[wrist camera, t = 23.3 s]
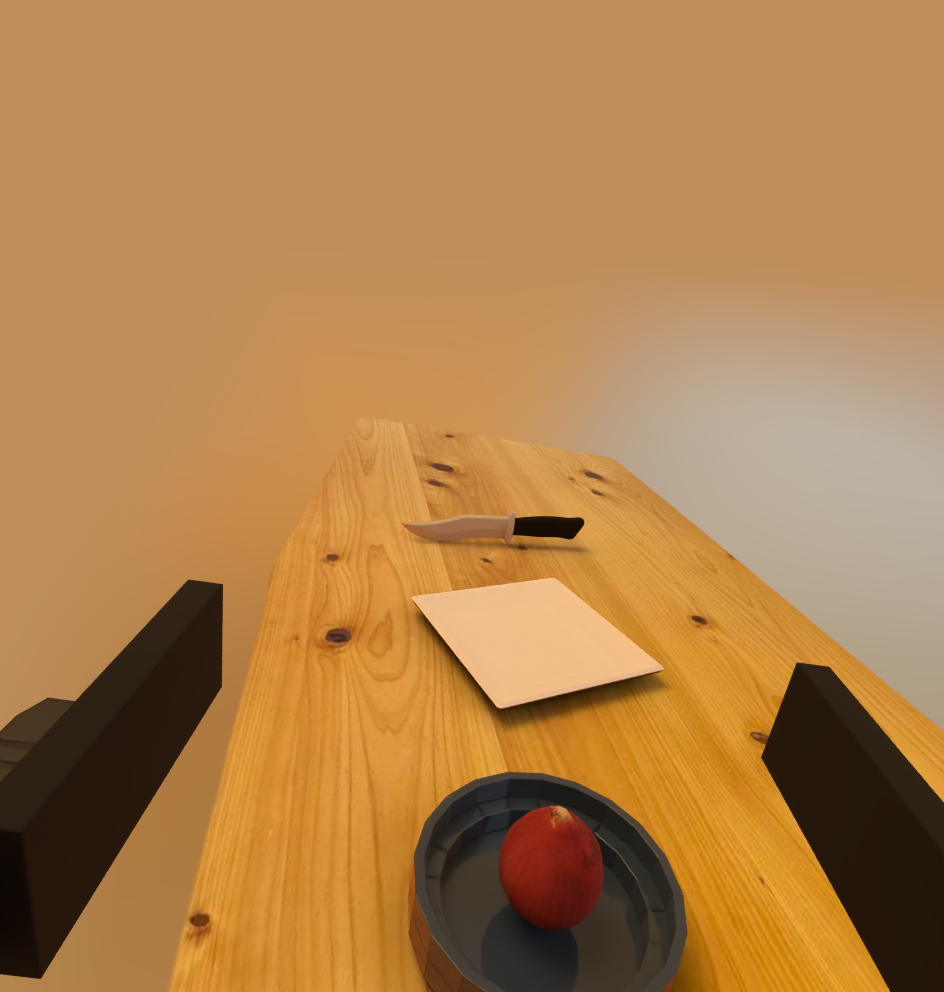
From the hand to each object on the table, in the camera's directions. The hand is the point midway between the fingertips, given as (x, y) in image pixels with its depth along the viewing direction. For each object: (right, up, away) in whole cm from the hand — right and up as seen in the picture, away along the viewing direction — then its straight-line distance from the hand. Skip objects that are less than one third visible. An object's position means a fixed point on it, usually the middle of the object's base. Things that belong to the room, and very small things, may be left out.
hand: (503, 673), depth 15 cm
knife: (+2, -3, +73) cm, 73 cm away
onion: (+3, -20, +23) cm, 31 cm away
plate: (+5, -11, +51) cm, 52 cm away
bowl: (+3, -21, +23) cm, 31 cm away
